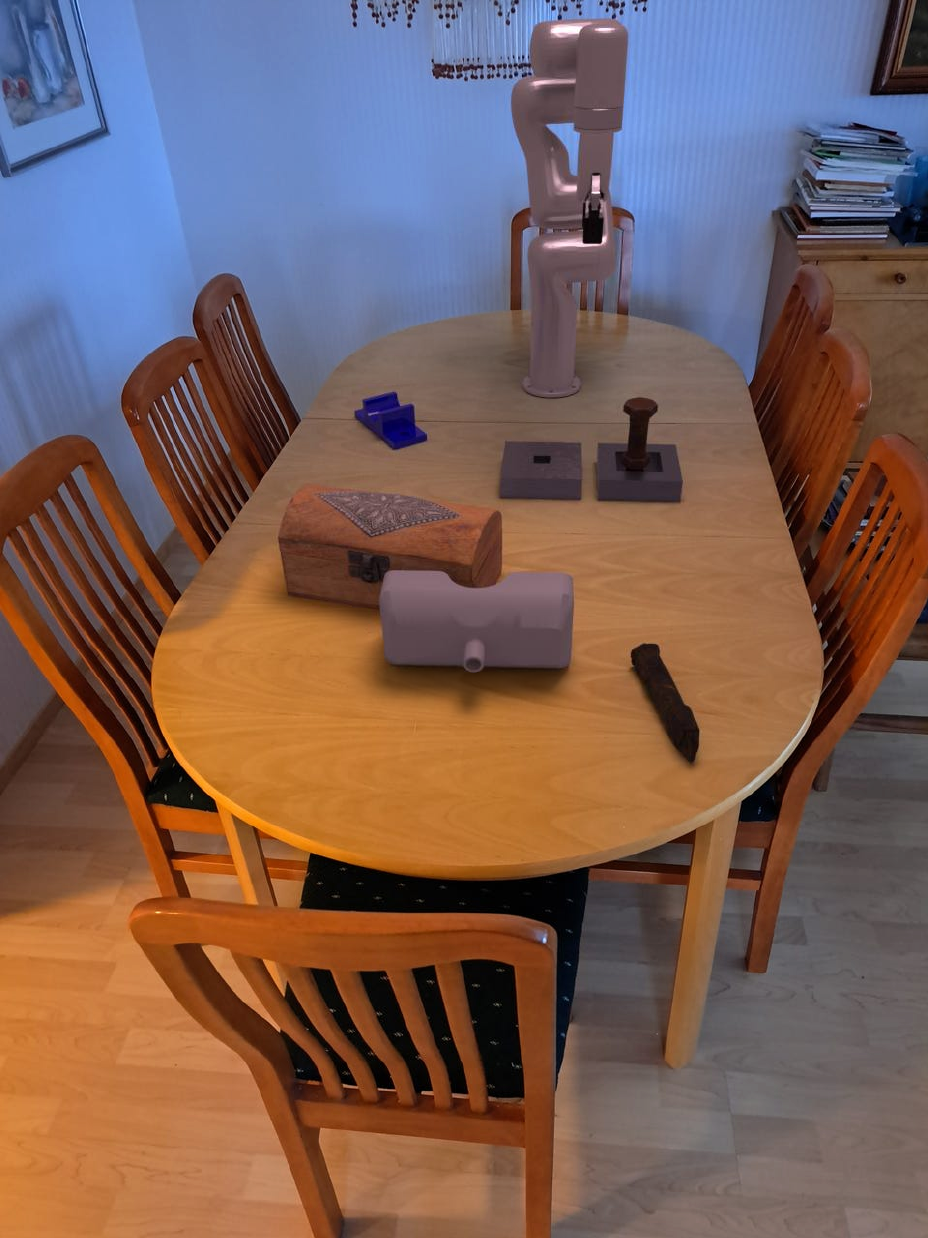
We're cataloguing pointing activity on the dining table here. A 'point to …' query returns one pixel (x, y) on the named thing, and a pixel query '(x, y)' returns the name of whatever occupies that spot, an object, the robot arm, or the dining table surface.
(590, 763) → the dining table surface
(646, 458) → the bolt
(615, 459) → the wide-bore block
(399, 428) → the mounting bracket
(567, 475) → the narrow-bore block
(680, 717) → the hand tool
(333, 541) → the wooden box
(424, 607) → the tank
